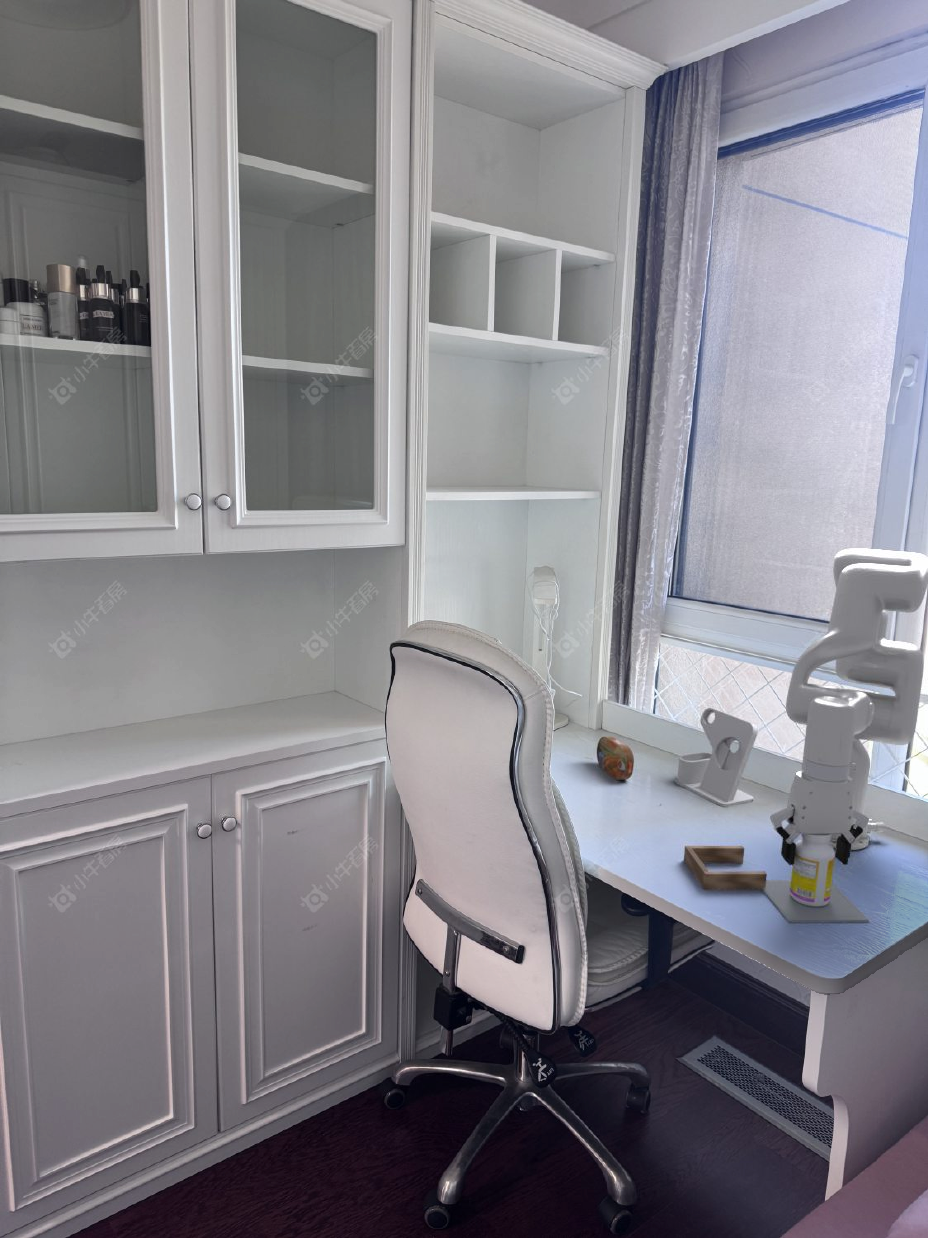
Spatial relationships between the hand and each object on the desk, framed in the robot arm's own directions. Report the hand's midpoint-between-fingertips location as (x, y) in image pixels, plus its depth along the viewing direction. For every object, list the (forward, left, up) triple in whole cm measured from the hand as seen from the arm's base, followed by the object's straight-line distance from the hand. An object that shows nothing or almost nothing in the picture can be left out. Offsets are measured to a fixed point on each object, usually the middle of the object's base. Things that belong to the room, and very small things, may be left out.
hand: (814, 861), depth 151 cm
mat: (0, 0, -8) cm, 8 cm away
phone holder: (-1, -51, -8) cm, 52 cm away
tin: (+20, -62, -8) cm, 66 cm away
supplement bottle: (0, 0, -7) cm, 7 cm away
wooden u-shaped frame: (+12, -10, -8) cm, 17 cm away
